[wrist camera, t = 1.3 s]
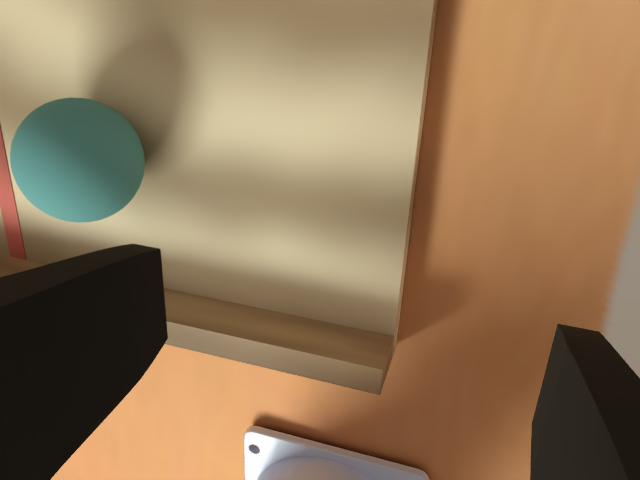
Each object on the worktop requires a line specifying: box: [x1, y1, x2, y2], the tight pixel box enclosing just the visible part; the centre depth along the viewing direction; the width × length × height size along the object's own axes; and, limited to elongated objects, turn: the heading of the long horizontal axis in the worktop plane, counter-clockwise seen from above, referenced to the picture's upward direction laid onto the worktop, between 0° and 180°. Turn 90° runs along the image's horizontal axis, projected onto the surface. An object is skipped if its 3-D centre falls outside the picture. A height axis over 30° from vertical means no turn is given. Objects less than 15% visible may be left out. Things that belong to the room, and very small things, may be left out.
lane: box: [0, 0, 438, 395], centre depth 21 cm, size 13×28×3 cm, turn 88°
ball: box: [10, 97, 145, 223], centre depth 18 cm, size 4×4×4 cm
